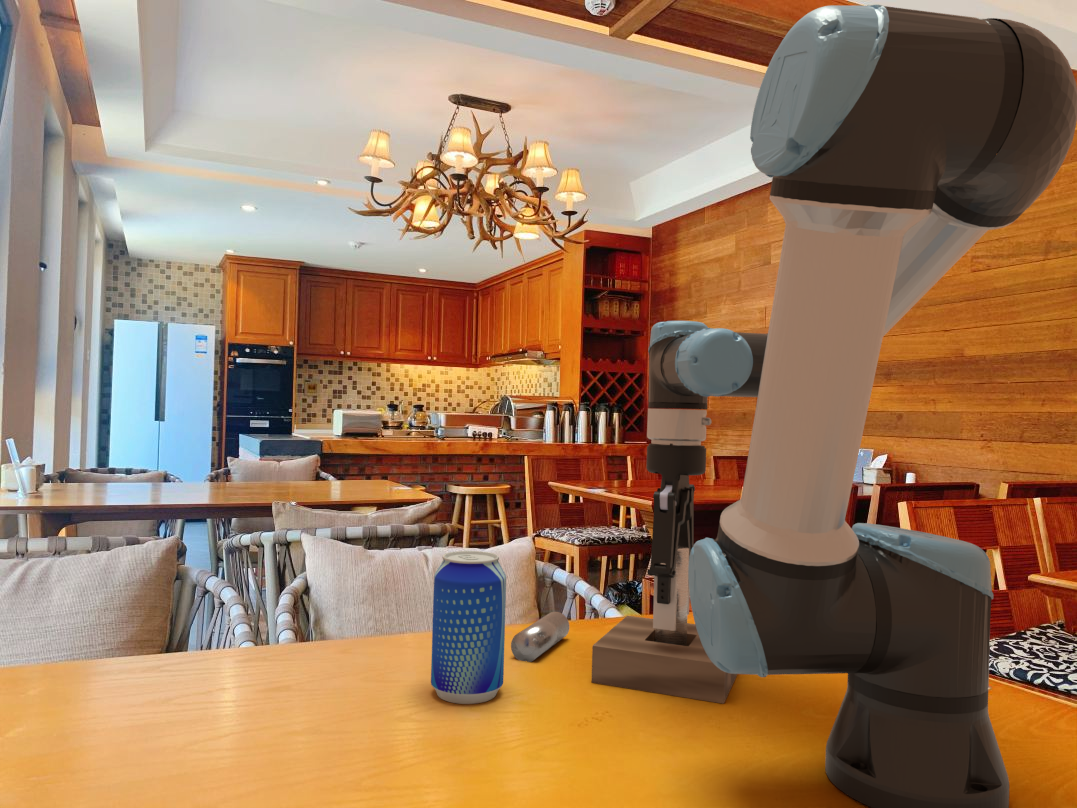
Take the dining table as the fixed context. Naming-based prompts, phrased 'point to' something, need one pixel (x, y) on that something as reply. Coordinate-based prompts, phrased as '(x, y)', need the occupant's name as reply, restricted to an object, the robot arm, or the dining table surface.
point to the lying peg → (539, 636)
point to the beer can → (468, 627)
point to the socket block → (657, 663)
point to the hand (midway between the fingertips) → (671, 620)
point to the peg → (678, 603)
